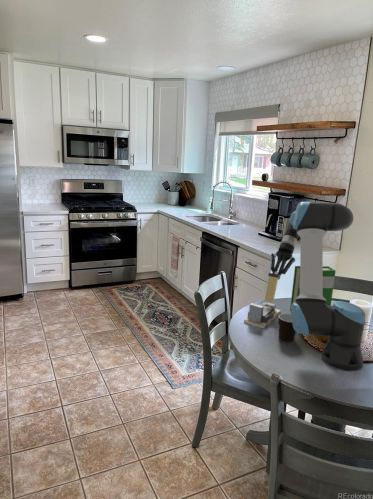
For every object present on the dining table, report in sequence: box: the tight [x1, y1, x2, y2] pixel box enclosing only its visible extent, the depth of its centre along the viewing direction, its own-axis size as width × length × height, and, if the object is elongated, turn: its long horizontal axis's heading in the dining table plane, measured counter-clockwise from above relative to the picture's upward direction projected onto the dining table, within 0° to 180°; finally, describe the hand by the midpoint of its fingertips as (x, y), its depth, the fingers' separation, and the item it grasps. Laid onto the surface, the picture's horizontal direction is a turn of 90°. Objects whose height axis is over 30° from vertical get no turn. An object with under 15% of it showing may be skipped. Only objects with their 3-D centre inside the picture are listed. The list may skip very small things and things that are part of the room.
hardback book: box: [289, 265, 336, 312], centre depth 193 cm, size 18×7×24 cm, turn 95°
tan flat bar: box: [264, 272, 281, 303], centre depth 192 cm, size 2×5×14 cm, turn 57°
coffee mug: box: [277, 313, 297, 343], centre depth 168 cm, size 12×9×10 cm
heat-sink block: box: [247, 301, 277, 324], centre depth 186 cm, size 19×9×8 cm, turn 147°
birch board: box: [243, 308, 282, 329], centre depth 188 cm, size 22×10×2 cm, turn 147°
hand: (273, 284), depth 195 cm, fingers closed
